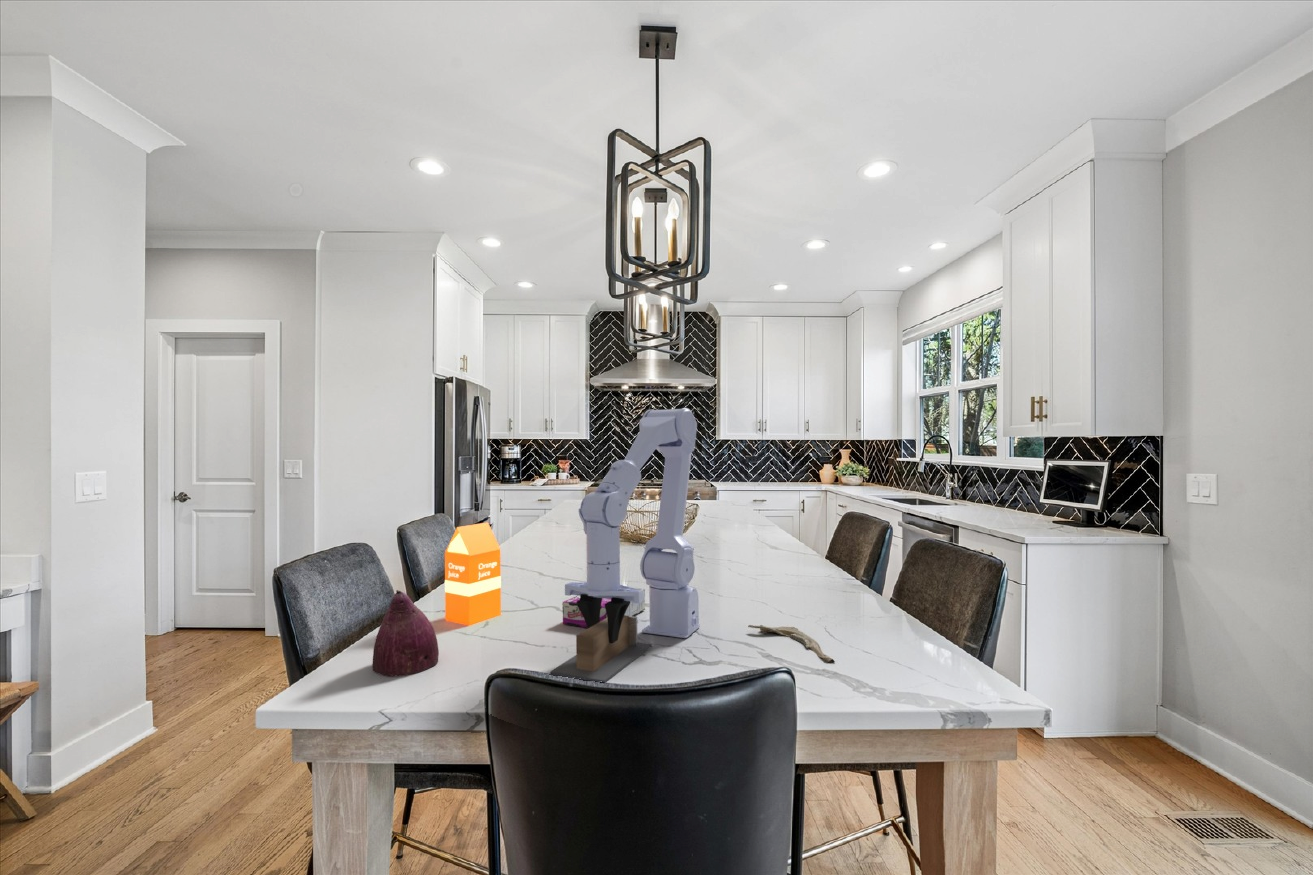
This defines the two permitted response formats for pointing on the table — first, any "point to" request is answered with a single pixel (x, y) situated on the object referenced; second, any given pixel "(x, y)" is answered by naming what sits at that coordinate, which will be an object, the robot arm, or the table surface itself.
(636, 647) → the mat
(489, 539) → the orange juice
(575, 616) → the candy bar box
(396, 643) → the vegetable
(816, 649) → the jawbone
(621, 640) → the tall tan post
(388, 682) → the table surface
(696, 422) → the robot arm
